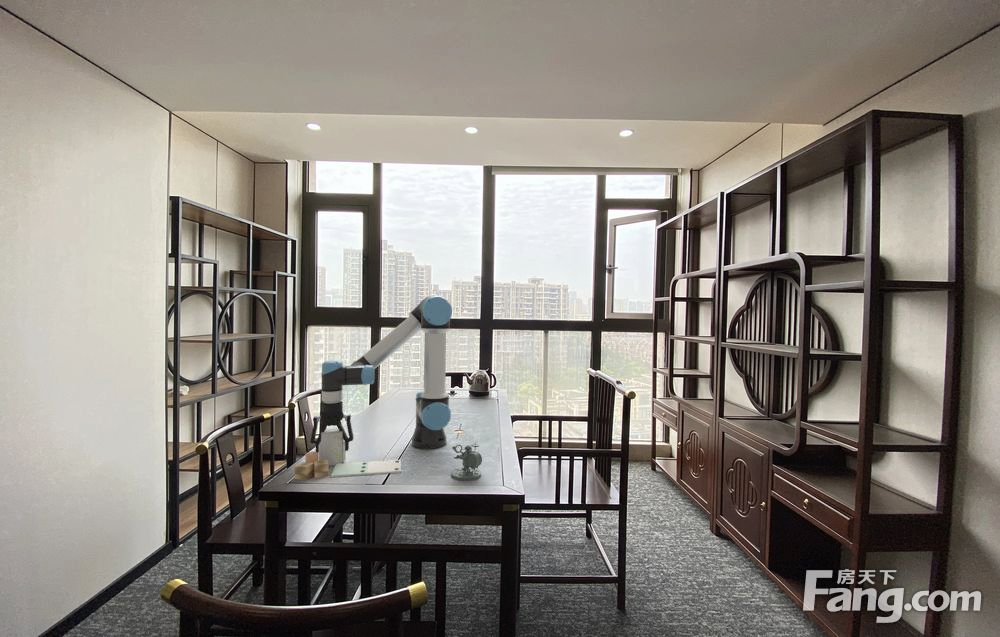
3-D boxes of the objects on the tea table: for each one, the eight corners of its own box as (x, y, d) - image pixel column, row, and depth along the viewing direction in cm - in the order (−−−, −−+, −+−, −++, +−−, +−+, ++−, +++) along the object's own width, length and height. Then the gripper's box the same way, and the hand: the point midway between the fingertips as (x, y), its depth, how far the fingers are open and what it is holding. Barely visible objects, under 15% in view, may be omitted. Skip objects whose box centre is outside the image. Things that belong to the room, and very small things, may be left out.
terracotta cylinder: (319, 467, 168) (319, 451, 168) (317, 471, 164) (317, 455, 164) (306, 467, 167) (306, 451, 167) (304, 472, 163) (304, 455, 163)
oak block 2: (327, 471, 164) (327, 459, 164) (328, 476, 160) (328, 463, 159) (314, 473, 162) (314, 461, 162) (314, 478, 158) (314, 465, 158)
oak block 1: (313, 475, 160) (313, 462, 160) (307, 480, 156) (306, 467, 156) (301, 474, 161) (301, 462, 161) (294, 479, 157) (294, 466, 156)
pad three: (369, 463, 173) (369, 461, 173) (366, 474, 161) (366, 472, 161) (336, 465, 170) (336, 463, 170) (331, 477, 159) (331, 474, 159)
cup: (336, 466, 169) (336, 434, 169) (316, 464, 171) (316, 433, 170) (347, 459, 177) (347, 428, 177) (328, 457, 179) (328, 427, 178)
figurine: (462, 468, 169) (463, 436, 169) (487, 473, 163) (487, 441, 163) (445, 477, 160) (445, 443, 159) (470, 483, 154) (470, 448, 154)
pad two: (401, 461, 175) (401, 459, 175) (400, 472, 164) (400, 470, 164) (369, 463, 173) (369, 461, 173) (366, 474, 161) (366, 472, 161)
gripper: (361, 398, 179) (361, 455, 180) (305, 400, 175) (305, 458, 175) (359, 402, 172) (359, 461, 172) (300, 404, 167) (301, 465, 168)
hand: (332, 459), depth 174 cm, fingers closed on cup, 8 cm apart
